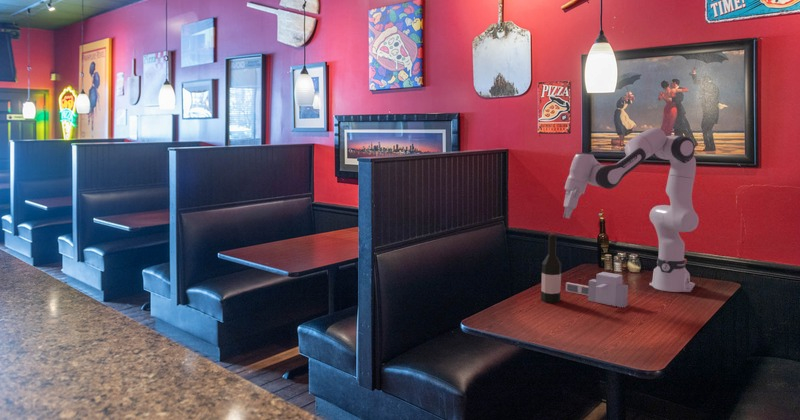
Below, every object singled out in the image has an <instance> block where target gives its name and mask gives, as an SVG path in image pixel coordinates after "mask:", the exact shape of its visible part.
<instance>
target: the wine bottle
mask: <svg viewBox="0 0 800 420" xmlns="http://www.w3.org/2000/svg"><path fill="white" fill-rule="evenodd" d="M547 237H548V239H547V255H546V256H545V258H544V260H543V261H542V263H541V289H540V290H541V291H540V292H541V293H540V301H542V302H544V303H546V304H547V303H548V304H557V303H560V302H561V294H562V293H561V292H562V291H561V290H562V289H561V287H562V285H561V284H562V262H561V261H560V258H559V257H558V255H557V235H556V233H555V232H554V233H553V232H550V233H549V234H548V236H547Z"/></svg>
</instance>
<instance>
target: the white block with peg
mask: <svg viewBox="0 0 800 420" xmlns="http://www.w3.org/2000/svg"><path fill="white" fill-rule="evenodd" d="M623 275H624V274H617V273H611V272H606V271H602V272H599V273H596V275H595V276H596V277H595V278H592V279H590V280H588V285H587V286H588V296H587V302H593V303H597V304H603V305H608V306H611V305H612V306H611V307H616V306H617V308H621V307H622V308H621V309H624V308H626V307H628V299H629V298H628V294H629V285H627V284H623V278H624V277H623ZM625 306H626V307H625ZM623 307H624V308H623Z"/></svg>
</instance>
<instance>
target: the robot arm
mask: <svg viewBox="0 0 800 420" xmlns="http://www.w3.org/2000/svg"><path fill="white" fill-rule="evenodd" d="M624 153H625V157H623V158H621V160H619V161H618V162H616V163H614V164H610V165H608V164H607V165H606V164H602V163H600V162H599V161H598V160H597V159H596V158H595V156H594V154H593V153H591V152H577V153H576V154H575V155H574V157H573V159H572V161H571V165H570V167H569V174H568V176H567V178H566V181H565V185H564V188H563V189H565V195H564V200H563V207H564V213H563V218H565V219H570V218H571V215H572V213H573V211H574V209H576V208H577V206H578V201H579V198H580V197H581V195H584V194H585V193H586V192H585V191H586V188H587V186H588V184H589V185H590V186H595V187H598V188H599V187H601V188H603V189H608V190H611V189H615V188H616V187H618V185H619V184H620V183H621V181H622V180H623V178H624V177H626V176H627V175H628V174H630V173H631V172H632V171H633V170H634V169H636V168H637V167H638V166H640V165H641V164H642V163H644V161H646V159H648V158H650V157H651V156H653V157H654V158H656V159H659V160H667V161H669V163H670V168H669V171H668V178H667V182H666V186H665V193H666V195H667V196H668V198H669V202H670V205H669V204H661V205H655V206H653V207H652V209H650V211H649V220H650V222H651V223H652V225H653V226H654V228H655V229H654V230H655V231H656V235H657V239H658V257H657V260H656V267H654V268H653V271H652V272H653V273H652V280H651V282H649V286H651V287H653V288H654V289H655V290H659V291H662V292H669V293H670V292H671V293H672V292H673V293H682V292H683V293H690V292H692V290H693V289H694V287H695V286H696V283H695V282H691V274H690V272H689V271H688V270H687V268H686V264H687V262H688V260H687V258H685V250H686V249H685V248H686V244H685V241H684V240H683V239H682V237H681V236H680V233H687V232H688V233H689V232H690V233H691V232H693V231H694V230H696V229H697V228H698V225H699V221H700V219H699V216H698V214H697V212H696V211H695V208H694V205H693V199H692V197H693V191H694V190H693V188H694V183H695V177H696V172H697V171H696V168H697V160H696V157H695V156H694V155H695V143H694V141H693V139H691V138H690V137H687V136H684V135H666V132H664V131H663V129H661V128H659V127H652V128H648V129H647V130H644V131H642V132H640V133H639V134H637V135H635V136H633V137H632V138H630V139H629V140H628V141H627V142H626V144H625V145H624Z"/></svg>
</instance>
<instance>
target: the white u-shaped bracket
mask: <svg viewBox="0 0 800 420" xmlns="http://www.w3.org/2000/svg"><path fill="white" fill-rule="evenodd" d="M565 292H568V293H572V294H577V295H583V296H586V297H588V285H584V284H579V283H573V282H569V281H568V282H565Z"/></svg>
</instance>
